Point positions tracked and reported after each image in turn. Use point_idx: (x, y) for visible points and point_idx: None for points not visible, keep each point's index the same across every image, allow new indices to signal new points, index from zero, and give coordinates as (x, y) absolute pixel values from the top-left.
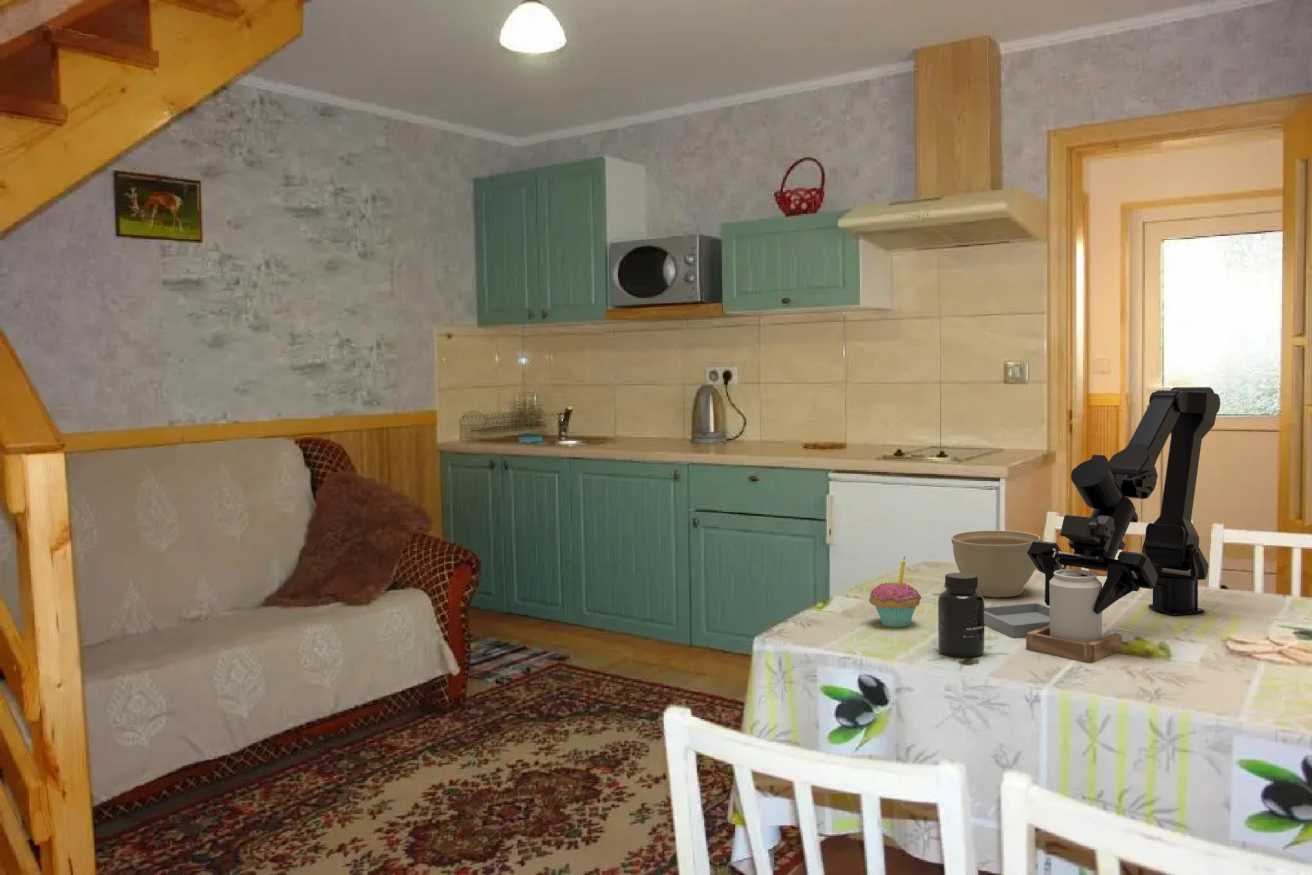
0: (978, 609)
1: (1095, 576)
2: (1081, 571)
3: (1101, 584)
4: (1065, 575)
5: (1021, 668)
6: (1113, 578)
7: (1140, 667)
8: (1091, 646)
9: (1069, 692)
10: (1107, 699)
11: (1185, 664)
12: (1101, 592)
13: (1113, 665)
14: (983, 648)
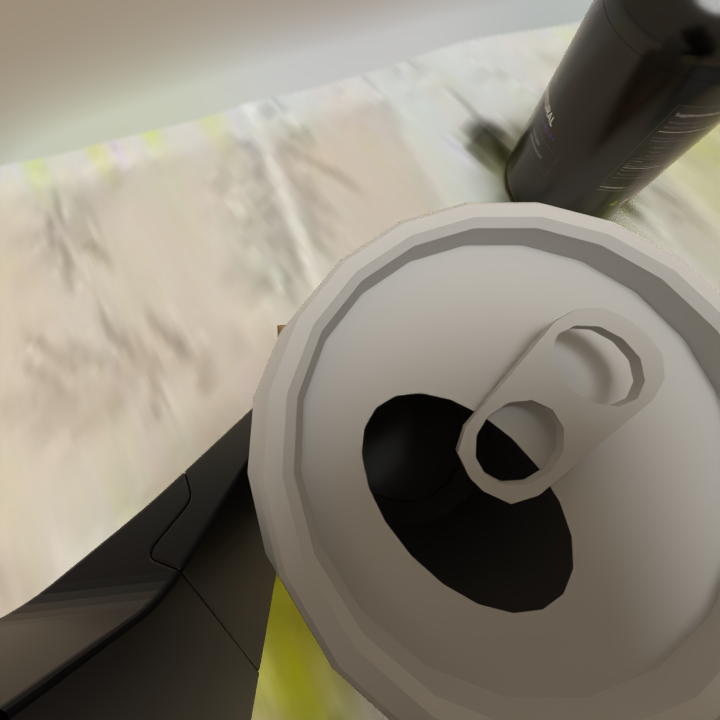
0: (592, 23)
1: (259, 479)
2: (632, 708)
3: (266, 548)
4: (606, 383)
5: (376, 185)
6: (60, 609)
7: (173, 407)
8: (278, 331)
9: (206, 132)
10: (128, 148)
11: (84, 544)
12: (242, 454)
13: (236, 368)
14: (519, 190)
